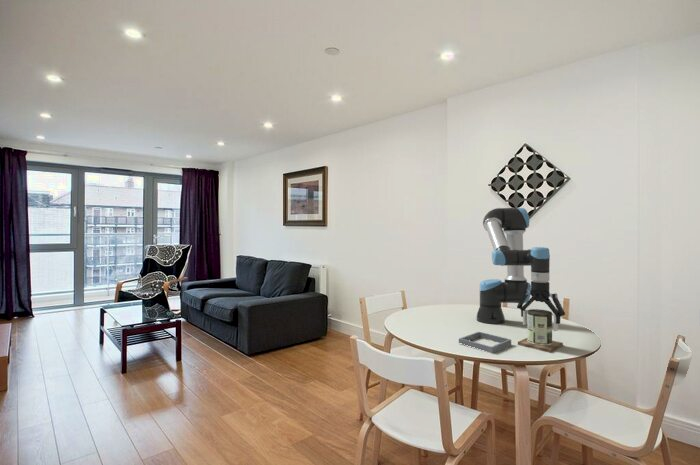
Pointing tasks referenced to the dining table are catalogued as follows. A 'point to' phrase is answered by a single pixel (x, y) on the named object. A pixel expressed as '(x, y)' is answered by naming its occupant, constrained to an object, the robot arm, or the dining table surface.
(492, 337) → the grey flat open frame
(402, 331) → the dining table surface
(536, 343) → the coffee can
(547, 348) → the walnut board
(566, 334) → the dining table surface
